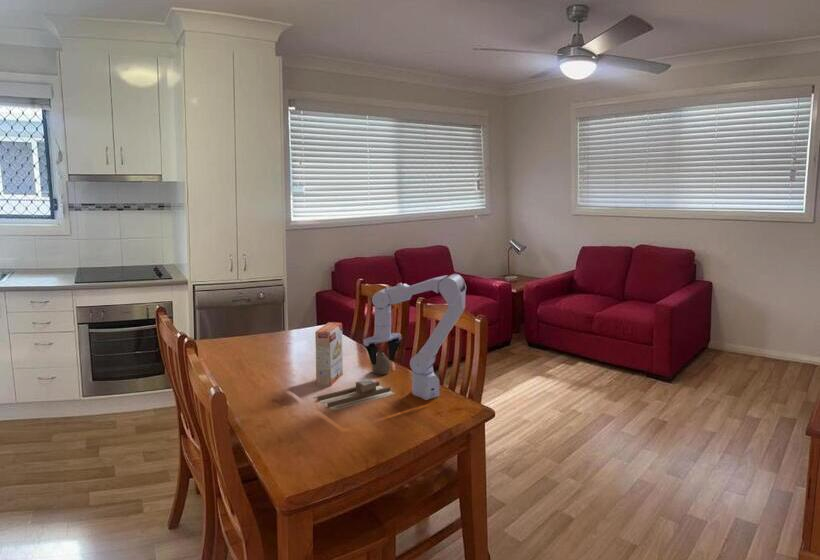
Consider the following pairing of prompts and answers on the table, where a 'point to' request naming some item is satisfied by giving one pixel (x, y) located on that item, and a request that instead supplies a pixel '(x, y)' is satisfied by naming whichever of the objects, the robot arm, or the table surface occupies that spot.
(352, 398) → the birch board
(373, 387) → the block
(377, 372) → the vase
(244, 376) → the table surface
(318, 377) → the cracker box
